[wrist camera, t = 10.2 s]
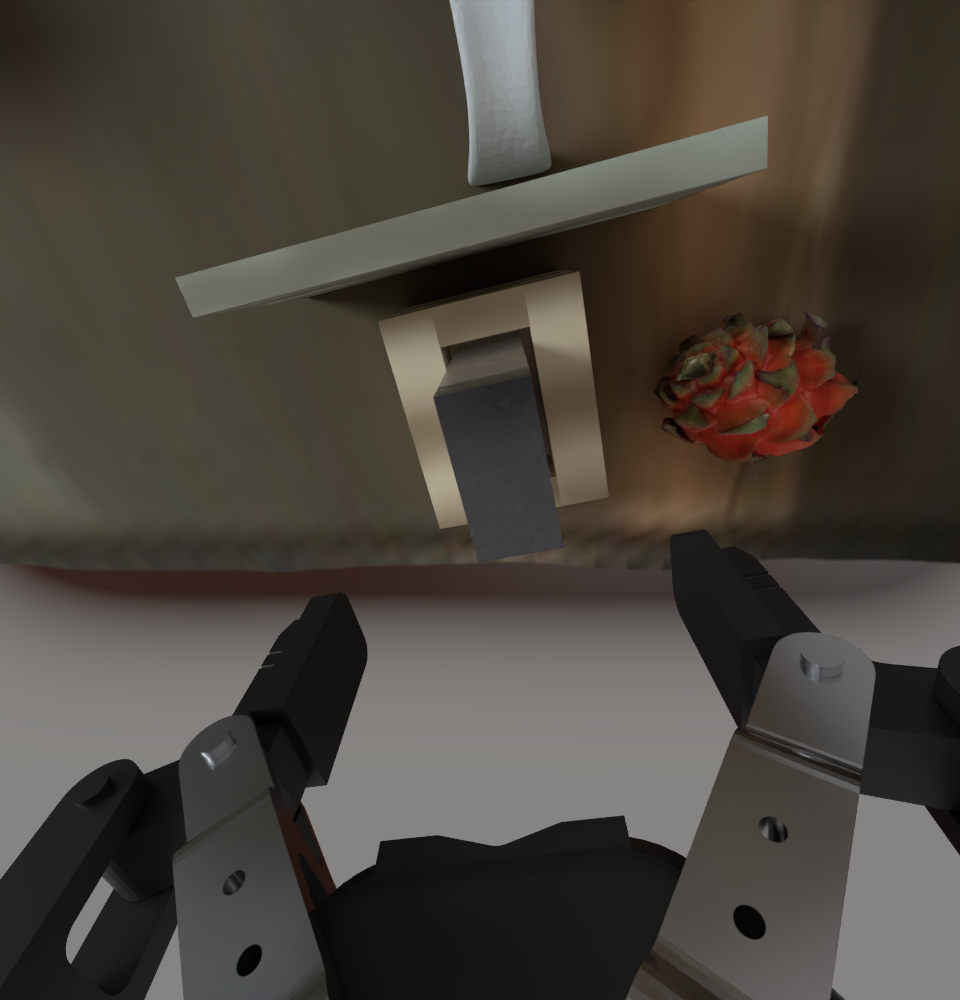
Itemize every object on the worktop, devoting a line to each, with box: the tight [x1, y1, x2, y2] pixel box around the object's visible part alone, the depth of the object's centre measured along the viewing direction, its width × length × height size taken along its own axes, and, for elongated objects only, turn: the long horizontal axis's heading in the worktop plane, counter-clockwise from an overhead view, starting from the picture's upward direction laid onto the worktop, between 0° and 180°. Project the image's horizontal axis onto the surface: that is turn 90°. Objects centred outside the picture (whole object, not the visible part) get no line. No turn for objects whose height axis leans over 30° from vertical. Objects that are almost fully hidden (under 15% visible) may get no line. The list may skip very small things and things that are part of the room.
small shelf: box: [175, 116, 768, 529], centre depth 27 cm, size 16×22×13 cm
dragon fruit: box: [654, 312, 862, 463], centre depth 30 cm, size 8×8×12 cm
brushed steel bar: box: [433, 332, 563, 562], centre depth 24 cm, size 7×4×12 cm, turn 13°
